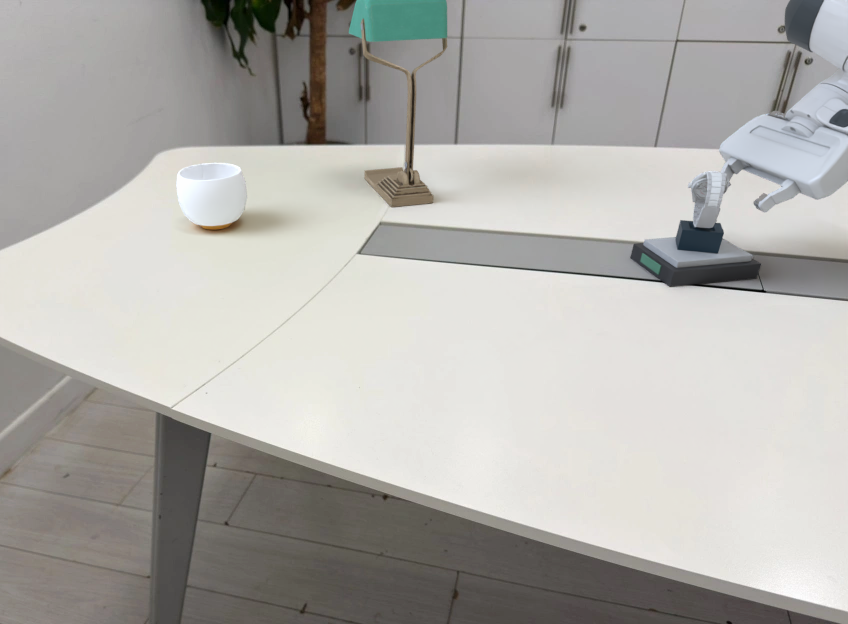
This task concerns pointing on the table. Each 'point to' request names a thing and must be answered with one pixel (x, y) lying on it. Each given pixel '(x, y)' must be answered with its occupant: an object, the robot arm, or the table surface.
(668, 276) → the scale
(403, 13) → the banker's lamp
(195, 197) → the cup
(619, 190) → the table surface
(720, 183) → the watch
